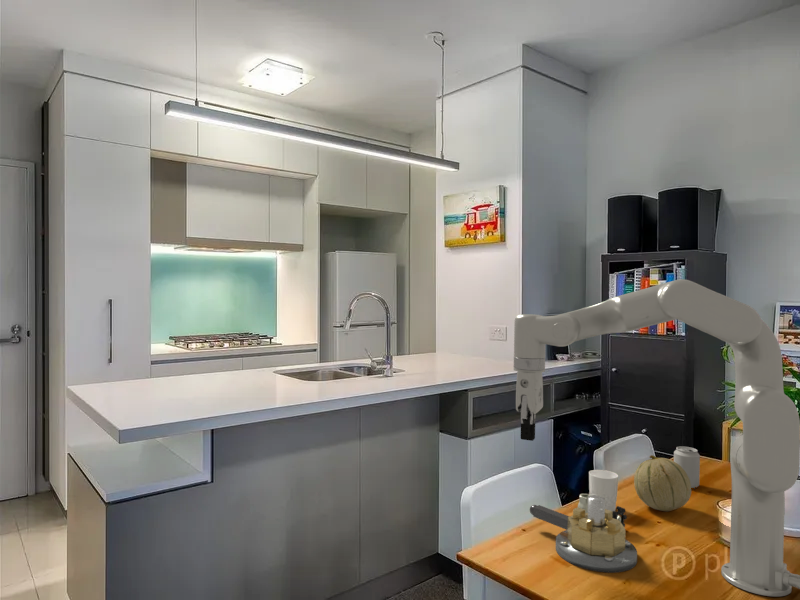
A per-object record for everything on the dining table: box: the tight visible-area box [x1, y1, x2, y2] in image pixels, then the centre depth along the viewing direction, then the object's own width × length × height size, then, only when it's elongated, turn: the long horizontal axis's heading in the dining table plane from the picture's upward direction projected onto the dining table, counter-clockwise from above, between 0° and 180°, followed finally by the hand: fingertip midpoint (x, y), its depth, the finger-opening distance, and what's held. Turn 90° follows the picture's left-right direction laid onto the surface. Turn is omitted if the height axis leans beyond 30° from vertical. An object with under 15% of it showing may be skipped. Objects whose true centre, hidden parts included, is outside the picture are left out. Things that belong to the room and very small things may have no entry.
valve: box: [577, 493, 628, 528], centre depth 146 cm, size 7×7×12 cm
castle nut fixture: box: [529, 504, 626, 556], centre depth 134 cm, size 25×12×7 cm, turn 39°
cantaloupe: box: [633, 454, 692, 512], centre depth 157 cm, size 15×15×15 cm
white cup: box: [588, 469, 619, 512], centre depth 156 cm, size 8×8×10 cm
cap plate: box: [555, 494, 638, 574], centre depth 129 cm, size 18×18×13 cm
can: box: [673, 446, 701, 489], centre depth 177 cm, size 8×8×12 cm
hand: (527, 439), depth 135 cm, fingers closed
